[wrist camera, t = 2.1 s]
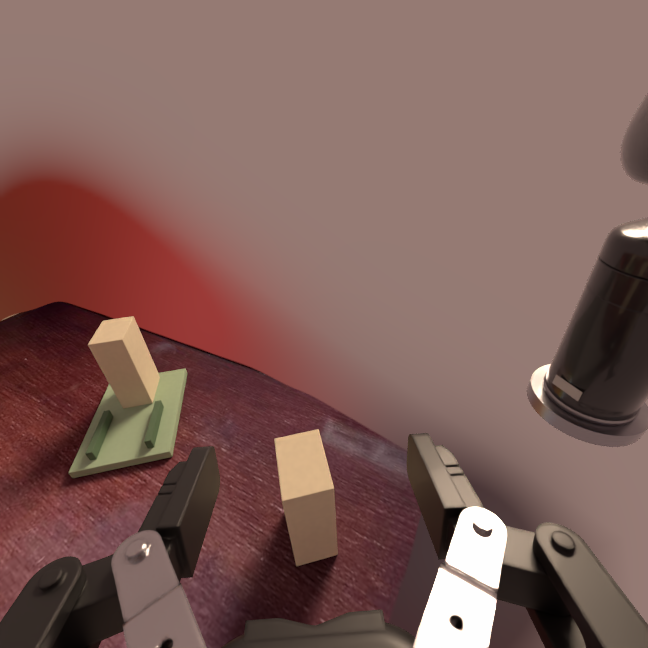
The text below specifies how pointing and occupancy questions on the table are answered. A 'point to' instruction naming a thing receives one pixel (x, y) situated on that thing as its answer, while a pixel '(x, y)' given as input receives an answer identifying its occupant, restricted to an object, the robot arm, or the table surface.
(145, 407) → the dock
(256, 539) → the table surface
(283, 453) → the tall beige wooden block
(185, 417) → the table surface
